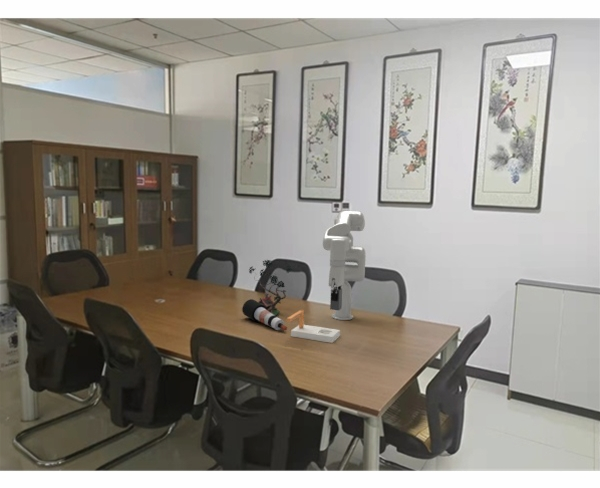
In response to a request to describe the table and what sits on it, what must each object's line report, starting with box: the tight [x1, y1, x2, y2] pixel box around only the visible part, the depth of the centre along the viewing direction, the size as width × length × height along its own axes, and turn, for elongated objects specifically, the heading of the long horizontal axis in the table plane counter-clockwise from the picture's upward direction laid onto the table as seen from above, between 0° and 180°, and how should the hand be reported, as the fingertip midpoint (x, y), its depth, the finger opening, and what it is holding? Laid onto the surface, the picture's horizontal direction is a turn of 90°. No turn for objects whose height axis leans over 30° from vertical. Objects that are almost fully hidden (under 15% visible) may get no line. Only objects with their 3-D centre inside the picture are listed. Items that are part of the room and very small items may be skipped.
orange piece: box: [286, 309, 305, 328], centre depth 233 cm, size 17×2×9 cm, turn 157°
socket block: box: [290, 324, 341, 344], centre depth 237 cm, size 12×22×4 cm, turn 67°
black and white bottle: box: [241, 299, 288, 331], centre depth 257 cm, size 10×34×10 cm, turn 40°
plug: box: [329, 288, 342, 311], centre depth 231 cm, size 4×4×10 cm
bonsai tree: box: [248, 259, 293, 316], centre depth 284 cm, size 35×24×32 cm
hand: (336, 299), depth 231 cm, fingers closed on plug, 4 cm apart
